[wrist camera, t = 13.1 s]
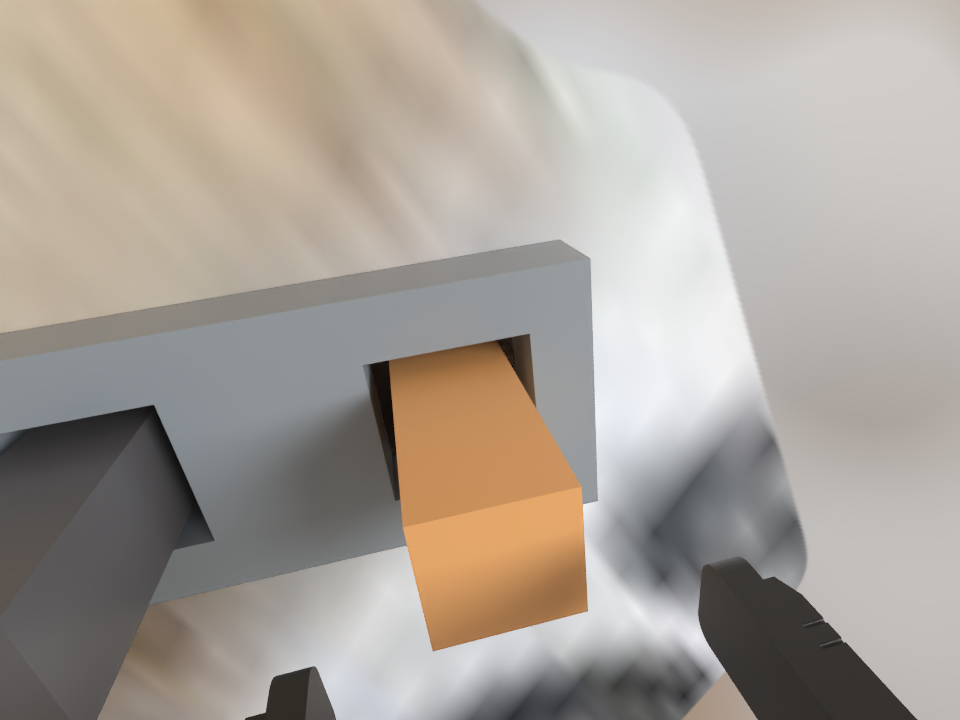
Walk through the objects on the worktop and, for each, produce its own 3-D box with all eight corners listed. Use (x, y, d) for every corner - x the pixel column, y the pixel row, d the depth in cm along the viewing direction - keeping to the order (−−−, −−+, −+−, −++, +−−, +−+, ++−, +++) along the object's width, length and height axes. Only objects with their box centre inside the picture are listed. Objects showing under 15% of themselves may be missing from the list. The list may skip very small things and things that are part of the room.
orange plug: (406, 434, 22) (432, 651, 13) (387, 347, 20) (402, 527, 11) (500, 415, 22) (587, 610, 13) (489, 328, 21) (581, 486, 12)
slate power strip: (52, 573, 21) (-175, 898, 12) (-93, 349, 17) (-600, 601, 8) (572, 458, 24) (692, 658, 15) (559, 239, 20) (719, 338, 11)
